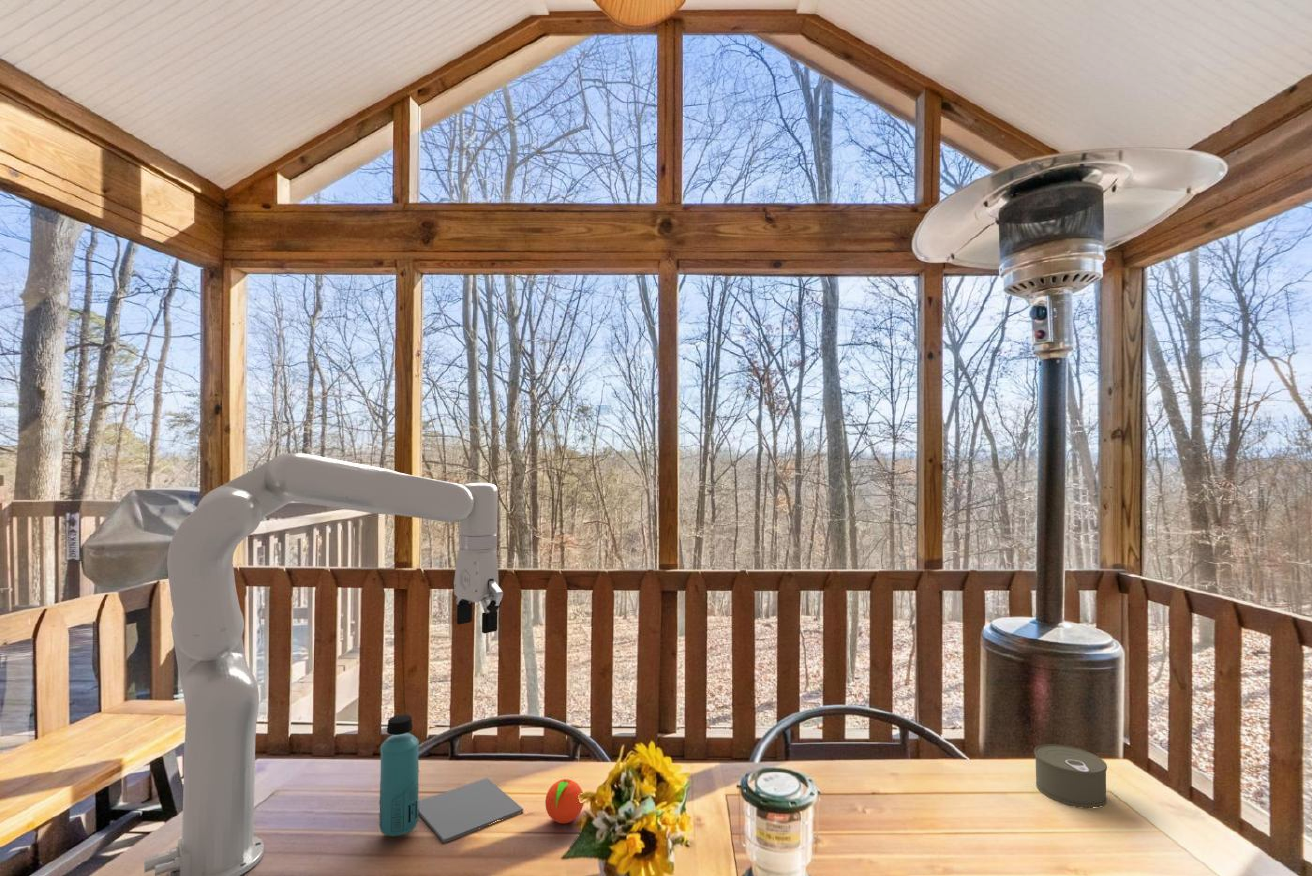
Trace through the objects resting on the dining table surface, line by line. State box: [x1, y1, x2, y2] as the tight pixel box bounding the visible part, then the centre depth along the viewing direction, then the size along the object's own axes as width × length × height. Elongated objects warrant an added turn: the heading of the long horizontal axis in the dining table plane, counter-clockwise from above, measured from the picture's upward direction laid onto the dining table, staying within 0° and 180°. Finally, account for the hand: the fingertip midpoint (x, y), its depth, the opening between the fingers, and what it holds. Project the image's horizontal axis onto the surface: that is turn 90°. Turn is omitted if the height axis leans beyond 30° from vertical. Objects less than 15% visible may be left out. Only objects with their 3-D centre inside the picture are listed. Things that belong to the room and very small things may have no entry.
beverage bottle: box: [378, 714, 420, 837], centre depth 112 cm, size 6×7×20 cm
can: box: [1033, 743, 1108, 809], centre depth 126 cm, size 12×12×7 cm
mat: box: [418, 777, 524, 844], centre depth 119 cm, size 15×15×1 cm
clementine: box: [544, 778, 585, 824], centre depth 115 cm, size 8×7×7 cm
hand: (476, 627), depth 131 cm, fingers open, 9 cm apart
